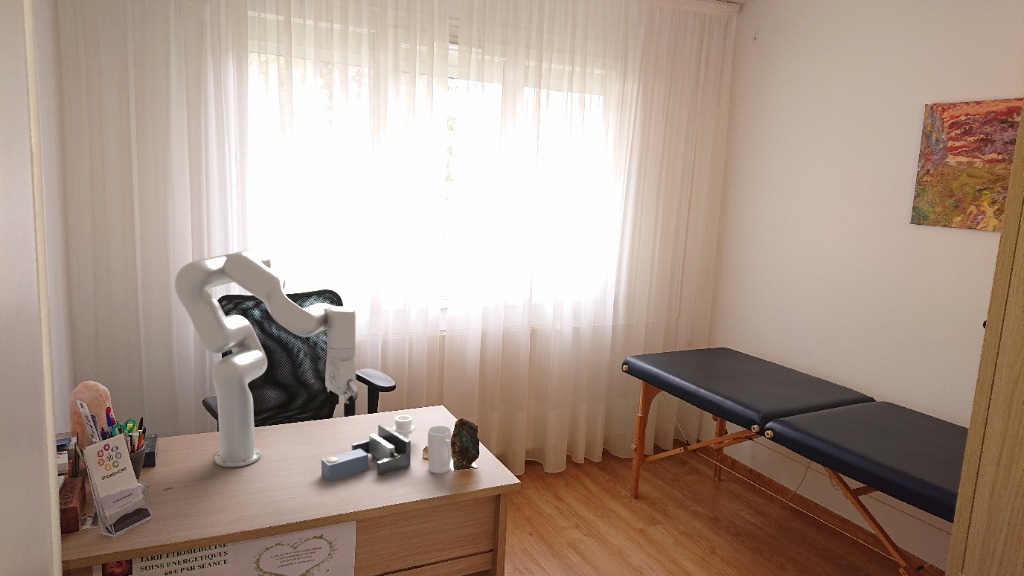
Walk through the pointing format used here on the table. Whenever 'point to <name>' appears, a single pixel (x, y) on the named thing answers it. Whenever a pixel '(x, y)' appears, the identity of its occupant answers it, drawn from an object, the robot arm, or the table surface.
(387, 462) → the gauge frame
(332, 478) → the block
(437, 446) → the mug
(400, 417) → the pipe fitting
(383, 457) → the anvil plate
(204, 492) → the table surface
